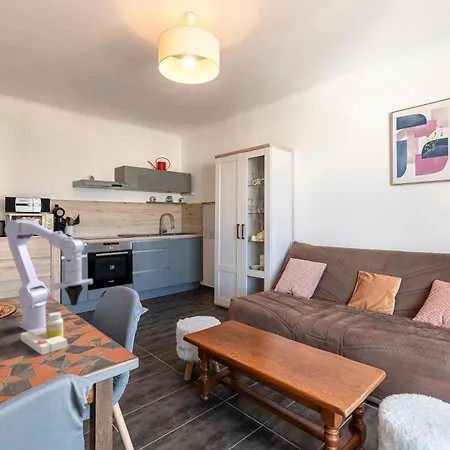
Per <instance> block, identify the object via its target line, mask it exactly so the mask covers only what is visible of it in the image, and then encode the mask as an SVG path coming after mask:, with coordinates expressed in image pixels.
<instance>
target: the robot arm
mask: <svg viewBox="0 0 450 450" xmlns="http://www.w3.org/2000/svg"><path fill="white" fill-rule="evenodd" d="M4 233H5V235H6V238H7V242H8V247H9V249H10V252H11V255H12V258H13V261H14V264H15V267H16V270H17V272H18V275H19V277H20V280H21V284H22V285H21V287H20V288H19V289H18V292H17V293H18V295H19V298H18V300H19V303H20V305H21V306H22V311H21V312H22V315H21V316H22V323H21V324H20V325H19V327H20V328H22V329H23V330H25V332H28V331H32V330H36V329H40V328H44V327H45V328H46V322H47V321H46V319H47V318H46V317H47V316H46V310H47V309H46V304H48V303H47V301H49V300H50V296H51V293H50V290H49V288H48V287H47V286H46V285H45V284H46V283H45V282H43V281H42V280H39V278H38V276H37V273H36V270H35V267H34V265H33V262H32V259H31V256H30V254H29V250H28V248H27V245H26V244H27V243H28V241H30V240H31V239H32V237H33V236H34V235H37V237H41V238H42V239H43V238H44V239H46V240H48V241H47V242H48V243H49V245H52V246H53V247H55V248H57V249H60V250H61V252H62V253H63V255H64V256H63V257H64V263H65V264H64V265H65V277H64V278H65V281H62V282H59V283H54V284H52V289H53V291H58V290H61V289H64V291H65V292H66V294H67V296H68V298H69V302H70V306H73V307H74V306H78V305H77V304H78V301H79V298H80V295H81V293H82V291H83V289H84V286H85V285H92V284H94V279H93V278H84V279H83V277H82V276H83V274H82V273H83V272H82V271H83V270H82V267H83V266H82V264H83V263H82V262H83V261H82V253H83V252H84V251H85V248H86V246H85V243H84V241H83V240H81V238H75V239H74V238H73V237H72V236H68V235H66V234H65V233H64V232H63V231H62V230H59V231H58V230H57V231H51V230H50V229H48V228H46V227H45V226H43V225H41V224H40V223H39V222H38V221H35V220H33V219H26V220H25V219H23V220H15V219H10V220H8V222H7V224H6V226H5V227H4Z"/></svg>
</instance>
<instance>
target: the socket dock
mask: <svg viewBox="0 0 450 450" xmlns="http://www.w3.org/2000/svg"><path fill="white" fill-rule="evenodd" d="M20 341H22V342H23V343H24V344H26V345H27V346H29V348H31V349H33V350H34V351H36V352H37V353H38V354H40V355H41V356H43V355H46V354H50V353H53V352H56V351H59V350H61V349H64V348H67V347H68V339H66V338H65V337H64V336H63V337H61V336H56V337H53V338H49V339H47V334H46V327H44V328H40V329H36V330H32V331H25V332H21V333H20Z"/></svg>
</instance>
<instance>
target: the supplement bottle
mask: <svg viewBox="0 0 450 450" xmlns="http://www.w3.org/2000/svg"><path fill="white" fill-rule="evenodd" d="M47 319H48V320H47V321H46V327H45V328H46V334H47V339H49V338H53V337H56V336H61V337H63V338H64V319H63V318H62V313H61V312H59V311H56V312H50V313H48V317H47Z"/></svg>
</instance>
